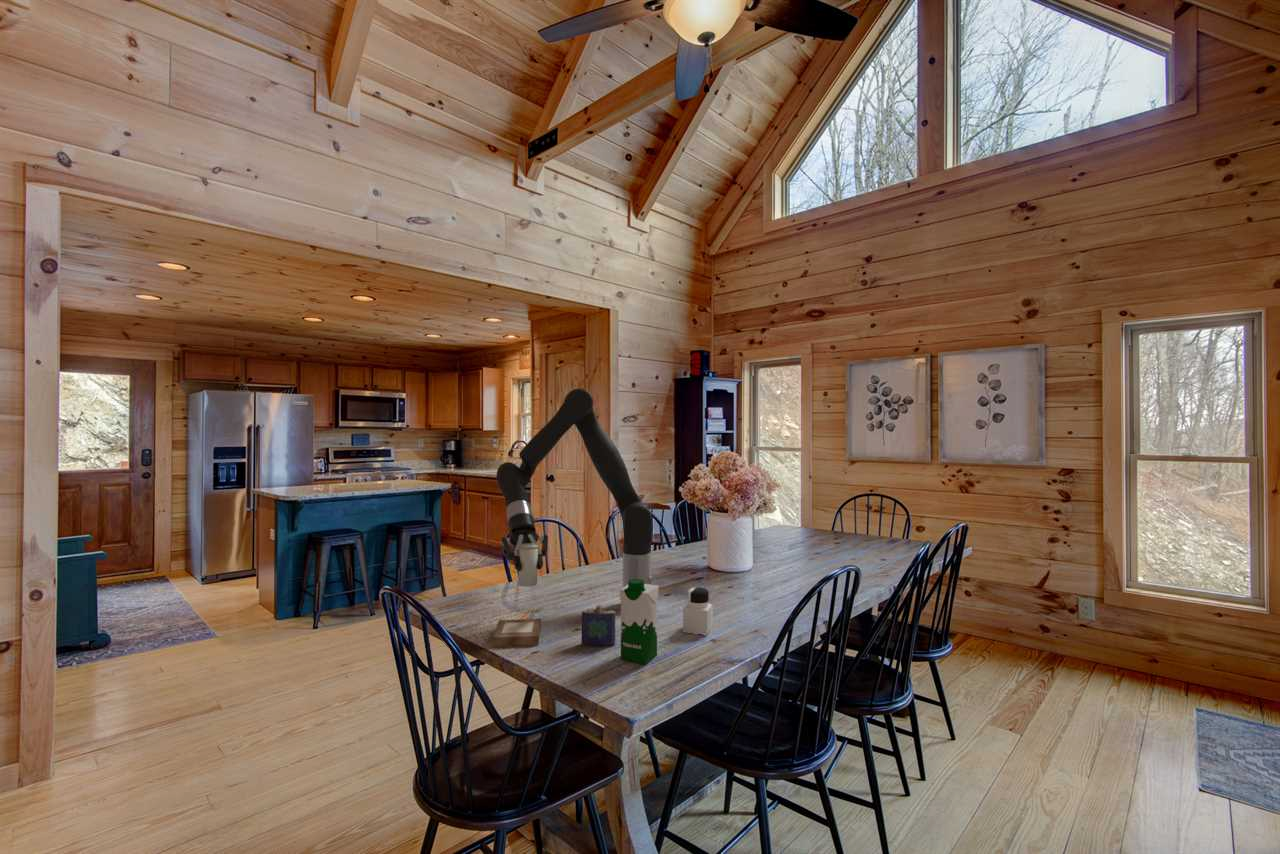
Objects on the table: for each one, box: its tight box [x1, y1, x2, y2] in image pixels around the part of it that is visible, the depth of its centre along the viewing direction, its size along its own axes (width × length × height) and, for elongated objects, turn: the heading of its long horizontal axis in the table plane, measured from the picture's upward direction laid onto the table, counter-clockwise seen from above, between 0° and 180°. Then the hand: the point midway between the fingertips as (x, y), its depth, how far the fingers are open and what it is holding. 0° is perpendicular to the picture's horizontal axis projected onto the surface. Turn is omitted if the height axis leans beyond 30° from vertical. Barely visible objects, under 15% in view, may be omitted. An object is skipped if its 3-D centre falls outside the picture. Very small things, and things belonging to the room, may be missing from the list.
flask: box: [580, 604, 617, 647], centre depth 159 cm, size 9×3×11 cm, turn 88°
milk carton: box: [619, 579, 660, 666], centre depth 150 cm, size 9×9×20 cm
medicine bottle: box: [682, 586, 714, 636], centre depth 170 cm, size 7×7×12 cm
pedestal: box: [492, 618, 542, 647], centre depth 165 cm, size 12×14×3 cm
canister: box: [518, 543, 539, 588], centre depth 167 cm, size 5×5×11 cm
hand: (529, 568), depth 165 cm, fingers closed on canister, 5 cm apart
